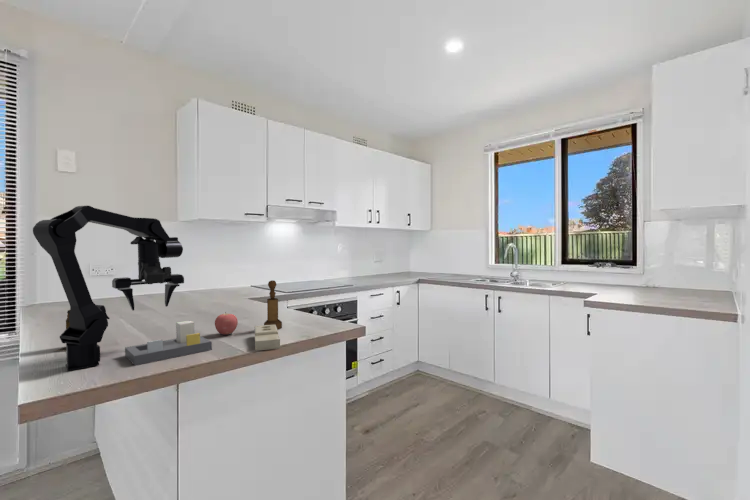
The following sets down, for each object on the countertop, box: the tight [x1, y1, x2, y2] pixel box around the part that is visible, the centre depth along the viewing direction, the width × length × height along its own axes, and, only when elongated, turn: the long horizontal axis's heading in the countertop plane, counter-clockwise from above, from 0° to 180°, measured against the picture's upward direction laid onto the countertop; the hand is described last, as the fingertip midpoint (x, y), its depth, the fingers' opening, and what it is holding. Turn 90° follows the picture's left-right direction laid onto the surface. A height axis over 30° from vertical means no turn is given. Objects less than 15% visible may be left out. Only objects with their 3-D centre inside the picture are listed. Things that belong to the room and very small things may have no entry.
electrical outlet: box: [254, 324, 281, 351], centre depth 122 cm, size 7×4×18 cm
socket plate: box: [124, 332, 213, 366], centre depth 111 cm, size 20×12×6 cm, turn 134°
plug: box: [175, 320, 196, 344], centre depth 115 cm, size 4×4×8 cm
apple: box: [214, 311, 239, 336], centre depth 132 cm, size 7×7×8 cm
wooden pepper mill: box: [263, 280, 283, 331], centre depth 141 cm, size 7×6×18 cm
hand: (150, 308), depth 118 cm, fingers open, 9 cm apart
